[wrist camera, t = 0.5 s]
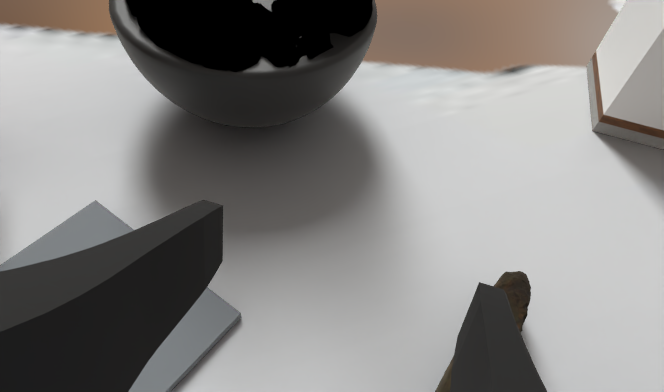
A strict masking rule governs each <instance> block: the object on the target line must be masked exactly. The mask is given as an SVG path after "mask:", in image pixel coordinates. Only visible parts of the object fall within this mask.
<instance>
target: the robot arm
mask: <svg viewBox="0 0 664 392" xmlns="http://www.w3.org/2000/svg"><path fill="white" fill-rule="evenodd" d="M222 250H223V206H222V205H219V204H215V203H212V202H209V201H205V200H202V201H199V202H197V203H195V204H192V205H190V206H188V207H186V208H183V209H181V210H179V211H177V212H175V213H173V214H170V215H168V216H166V217H164V218H162V219H159V220H157V221H155V222H153V223H150V224H148V225H146V226H144V227H141V228H139V229H137V230H134V231H132V232H129V233H127V234H124V235H122V236H119V237H117V238H114V239H112V240H109V241H107V242H104V243H102V244H99V245H96V246H93V247H91V248H88V249H85V250H82V251H78V252H75V253H72V254H69V255H65V256H62V257H59V258H55V259H51V260H47V261H43V262H39V263H35V264H31V265H27V266H23V267H19V268H15V269H10V270H5V271H0V392H128V391H129V390H130V388H131V387H132V385H133V384H134V382H135V381H136V379H137V378H138V376H139V375H140V373H141V372H142V370H143V368H144V367H145V365H146V364H147V362H148V361H149V360H150V358H151V357H152V356H153V354H154V353H155V352H156V350H157V349H158V348H159V346H160V345H161V344H162V343H163V342H164V340H165V339H166V338H167V337H168V335H169V334H170V333H171V332H172V330H173V329H174V328H175V327H176V326H177V324H178V323H179V322H180V321H181V319H182V318H183V317H184V316H185V314H186V313H187V312H188V311H189V310H190V308H191V307H192V306H193V305H194V303H195V302H196V301H197V299H198V298H199V297H200V296H201V294H202V293H203V292H204V291H205V289H206V288H207V286H208V284H209V283H210V281H211V280H212V278H213V276H214V275H215V273H216V271H217V269H218V268H219V266H220V264H221V263H222ZM450 392H547V390H546V388H545V386H544V384H543V382H542V380H541V379H540V376H539V374H538V372H537V370H536V368H535V366H534V364H533V362H532V359H531V357H530V355H529V352H528V350H527V348H526V346H525V343H524V341H523V339H522V336H521V334H520V331H519V328H518V326H517V323H516V321H515V318H514V315H513V312H512V309H511V307H510V304H509V301H508V298H507V294H506V293H505V291H504V290H503V289H500V288H496V287H493V286H490V285H486V284H483V283H480V282H479V285H478V287H477V290H476V292H475V295H474V297H473V300H472V302H471V305H470V307H469V310H468V312H467V315H466V317H465V320H464V322H463V325H462V327H461V330H460V332H459V335H458V337H457V343H456V348H455V354H454V360H453V366H452V372H451V387H450Z"/></svg>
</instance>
